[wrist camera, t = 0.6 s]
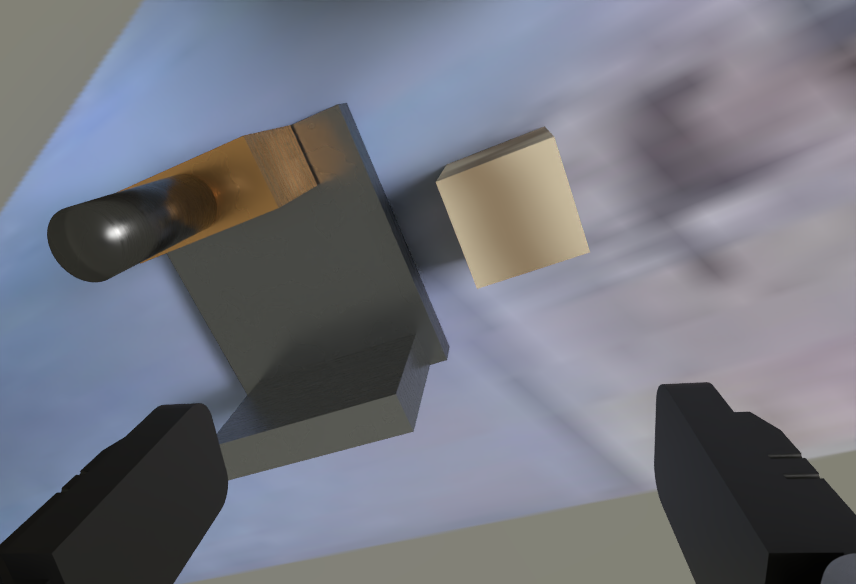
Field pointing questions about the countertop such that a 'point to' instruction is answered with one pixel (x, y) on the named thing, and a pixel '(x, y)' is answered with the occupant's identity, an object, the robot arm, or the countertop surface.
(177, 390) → the countertop surface
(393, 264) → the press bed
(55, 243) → the press ram
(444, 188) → the block
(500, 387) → the countertop surface
